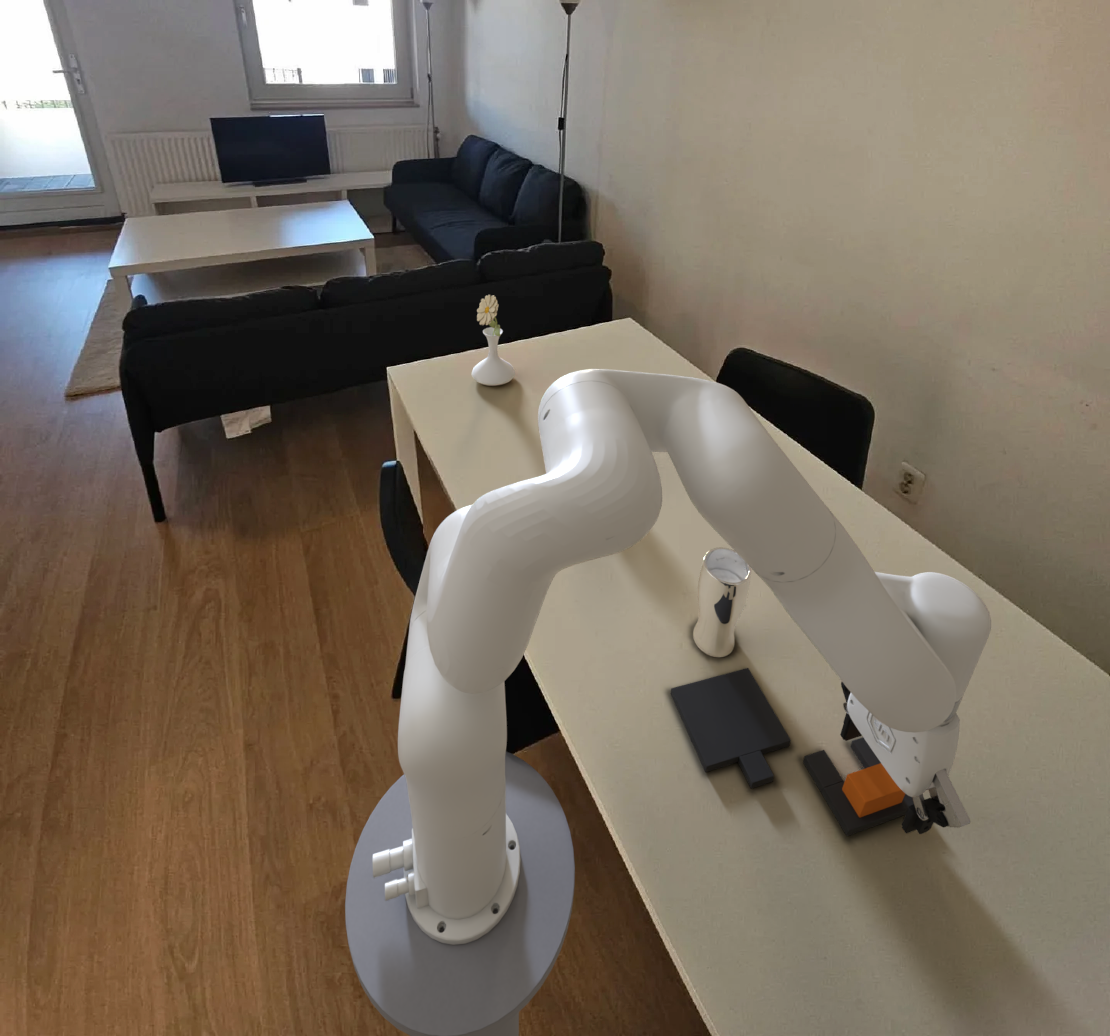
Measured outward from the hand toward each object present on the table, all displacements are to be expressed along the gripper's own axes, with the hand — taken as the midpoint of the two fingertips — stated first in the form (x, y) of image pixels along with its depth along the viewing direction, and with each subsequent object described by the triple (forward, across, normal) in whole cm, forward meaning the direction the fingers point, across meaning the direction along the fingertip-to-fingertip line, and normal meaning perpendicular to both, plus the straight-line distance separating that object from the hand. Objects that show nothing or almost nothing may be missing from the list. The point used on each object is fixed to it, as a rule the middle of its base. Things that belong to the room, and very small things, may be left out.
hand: (881, 778), depth 70 cm
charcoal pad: (+5, -11, -12) cm, 17 cm away
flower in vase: (+4, -105, -27) cm, 108 cm away
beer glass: (+5, -24, -8) cm, 26 cm away
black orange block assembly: (+5, -2, 0) cm, 5 cm away
